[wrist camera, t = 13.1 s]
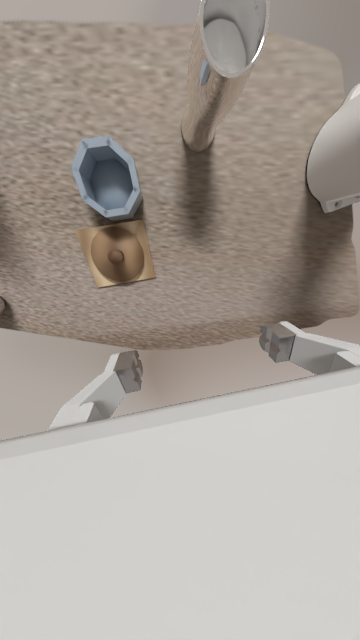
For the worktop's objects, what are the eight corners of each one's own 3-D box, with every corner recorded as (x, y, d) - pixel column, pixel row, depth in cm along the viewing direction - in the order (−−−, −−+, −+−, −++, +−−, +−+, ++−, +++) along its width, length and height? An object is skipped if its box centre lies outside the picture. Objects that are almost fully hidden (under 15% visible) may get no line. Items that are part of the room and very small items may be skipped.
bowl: (132, 150, 28) (127, 132, 23) (146, 215, 32) (144, 211, 28) (77, 158, 27) (61, 142, 23) (99, 223, 32) (89, 220, 27)
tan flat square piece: (142, 219, 32) (142, 219, 32) (155, 277, 38) (155, 277, 37) (75, 230, 32) (74, 230, 31) (98, 287, 37) (97, 287, 37)
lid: (136, 223, 32) (133, 220, 29) (149, 276, 37) (148, 279, 34) (83, 231, 32) (74, 230, 28) (103, 284, 37) (97, 288, 33)
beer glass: (222, 141, 28) (278, 53, 15) (189, 163, 29) (214, 98, 16) (208, 87, 25) (262, -84, 12) (171, 113, 26) (183, -21, 13)
